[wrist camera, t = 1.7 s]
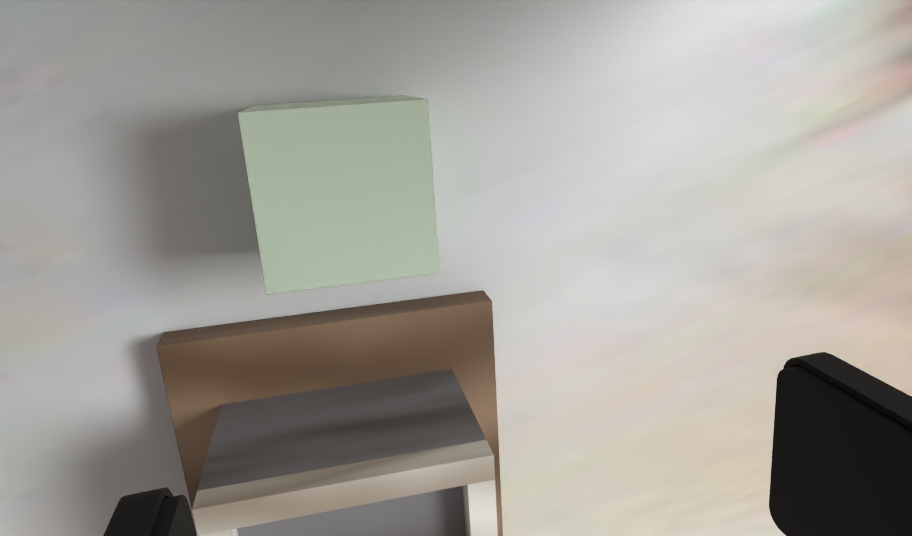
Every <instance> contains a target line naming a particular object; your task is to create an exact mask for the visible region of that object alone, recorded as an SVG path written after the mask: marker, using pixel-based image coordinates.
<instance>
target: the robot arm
mask: <svg viewBox="0 0 912 536" xmlns="http://www.w3.org/2000/svg"><path fill="white" fill-rule="evenodd" d="M769 509H770V513H771V516H772V518H773V521H774V522H775V524H776V525H777V527H778V528H779V529H780V530H781V531H782V532H783V533H784V534H785V535H786V536H912V397H911V396H909V395H907V394H905V393H904V392H902V391H900V390H898V389H896V388H894V387H892V386H890V385H888V384H886V383H885V382H883V381H881V380H879V379H877V378H875V377H873V376H871V375H869V374H867V373H866V372H864V371H862V370H860V369H858V368H856V367H854V366H852V365H850V364H848V363H847V362H845V361H843V360H841V359H839V358H837V357H835V356H833V355H831V354H829V353H826V352H822V353H815V354H810V355H806V356H801V357H796V358H791V359H790V360H788V361H787V362H786V364H785V365H784V369H783V370H781V371H780V372H779V374H778V377H777V389H776V404H775V420H774V436H773V452H772V468H771V483H770V499H769ZM104 536H197V534H196V530H195V526H194V522H193V519H192V515H191V511H190V508H189V504H188V501H187V499H186V497H185V496H184V495H179V496H175V497H173V495H172V493H171V491H170V490H169V489H168V488H161V489H156V490H151V491H146V492H141V493H137V494H132V495H127V496H124V497H122V498H121V499H120V501H119V502H118V505H117V507H116V509H115V511H114V513H113V516H112V518H111V520H110V522H109V525H108V527H107V529H106V531H105V533H104Z"/></svg>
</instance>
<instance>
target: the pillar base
mask: <svg viewBox="0 0 912 536" xmlns="http://www.w3.org/2000/svg"><path fill="white" fill-rule="evenodd" d="M156 347H157V351H158V356H159V361H160V365H161V370H162V374H163V379H164V383H165V388H166V392H167V397H168V402H169V406H170V411H171V415H172V420H173V424H174V429H175V434H176V438H177V443H178V447H179V452H180V456H181V461H182V466H183V470H184V475H185V479H186V484H187V488H188V493H189V497H190V502H191V507H192V513H193V517H194V522H195V527H196V531H197V536H503V530H502V509H501V487H500V465H499V444H498V422H497V401H496V379H495V357H494V336H493V314H492V301H491V299H490V298H489V297H488V296H487V295H486V293H485V292H484V291H476V292H469V293H461V294H454V295H446V296H438V297H431V298H423V299H415V300H408V301H400V302H392V303H385V304H377V305H370V306H362V307H354V308H347V309H339V310H331V311H324V312H316V313H309V314H301V315H293V316H286V317H278V318H270V319H263V320H255V321H247V322H240V323H232V324H225V325H217V326H209V327H202V328H194V329H186V330H179V331H171V332H164V334H163V336H162V337H161V339H160V341H159V343H158V344H157V346H156Z"/></svg>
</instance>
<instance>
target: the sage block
mask: <svg viewBox="0 0 912 536" xmlns="http://www.w3.org/2000/svg"><path fill="white" fill-rule="evenodd" d="M238 118H239V124H240V131H241V137H242V143H243V150H244V156H245V162H246V169H247V175H248V181H249V188H250V194H251V200H252V207H253V213H254V219H255V226H256V232H257V238H258V245H259V251H260V258H261V264H262V270H263V277H264V283H265V289H266V295H267V294H275V293H283V292H291V291H299V290H307V289H316V288H324V287H332V286H340V285H348V284H356V283H364V282H372V281H380V280H388V279H396V278H404V277H413V276H421V275H429V274H437V273H440V266H439V252H438V238H437V224H436V210H435V196H434V181H433V167H432V153H431V139H430V125H429V111H428V99H423V98H416V97H410V96H404V95H401V96H386V97H372V98H357V99H343V100H328V101H314V102H299V103H285V104H270V105H256V106H252V107H249V108H247V109H245V110H243V111H240V112H238Z"/></svg>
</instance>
